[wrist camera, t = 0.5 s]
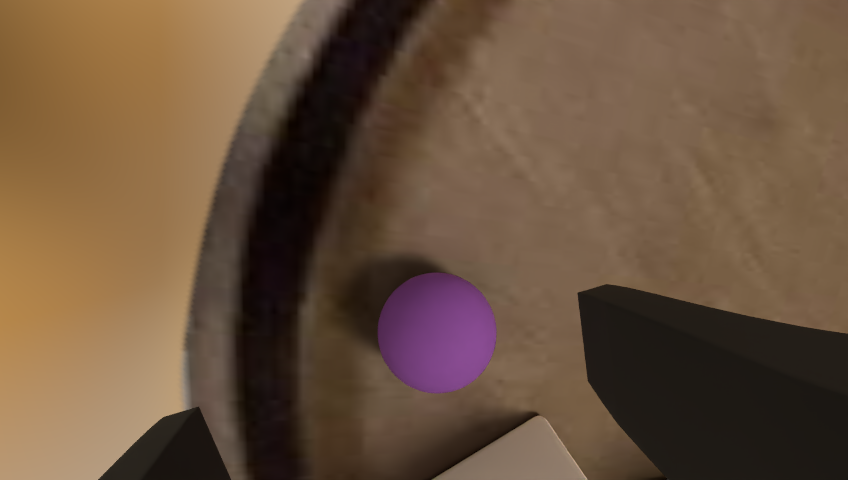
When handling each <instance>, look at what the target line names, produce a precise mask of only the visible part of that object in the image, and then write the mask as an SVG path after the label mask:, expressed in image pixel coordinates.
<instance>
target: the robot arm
mask: <svg viewBox="0 0 848 480" xmlns="http://www.w3.org/2000/svg"><path fill="white" fill-rule="evenodd" d="M578 300H579V309H580V318H581V326H582V335H583V343H584V352H585V360H586V369H587V377H588V382H589V383H590V385H591V386H592V388H593V389H594V391H595V392H596V394H597V395H598V397H599V398H600V400H601V401H602V403H603V404H604V405H605V407H606V408H607V410H608V411H609V412H610V414H611V415H612V417H613V418H614V419H615V421H616V422H617V423H618V425H619V426H620V427H621V428H622V429H623V430H624V431H625V433H626V434H627V435H628V436H629V437H630V438H631V439H632V440H633V442H634V443H635V444H636V445H637V446H638V447H639V448H640V449H641V450H642V451H643V453H644V454H645V455H646V456H647V457H648V458H649V459H650V460H651V461H652V462H653V464H654V465H655V466H656V467H657V468H658V469H659V470H660V471H661V472H662V473H663V474H664V476H665V477H666V478H667V479H668V480H848V334H846V333H839V332H832V331H825V330H819V329H813V328H807V327H801V326H796V325H790V324H785V323H780V322H775V321H770V320H765V319H760V318H755V317H750V316H746V315H741V314H737V313H732V312H728V311H723V310H719V309H715V308H710V307H706V306H702V305H698V304H694V303H690V302H686V301H682V300H677V299H673V298H669V297H665V296H661V295H657V294H653V293H649V292H645V291H640V290H636V289H632V288H627V287H622V286H616V285H609V284H606V285H602V286H599V287H596V288H592V289H589V290H586V291H582V292H579V293H578ZM98 480H231V478H230V476H229V474H228V472H227V469H226V467H225V465H224V463H223V460H222V458H221V456H220V454H219V451H218V449H217V447H216V444H215V442H214V440H213V438H212V435H211V433H210V431H209V429H208V426H207V424H206V422H205V420H204V417H203V415H202V413H201V410H200V408H199V407H196V408H192V409H189V410H186V411H182V412H179V413H176V414H172V415H169V416H166V417H163V418H162V419H160V420H159V421H158V422H157V423H156V424H155V425H154V426H152V427H151V428H150V429H149V430H148V431H147V432H146V433H145V434H144V435H143V436H142V437H140V438H139V439H138V440H137V442H135V443H134V444H133V445H132V446H131V447H130V448H129V449H128V450H127V451H126V453H124V455H122V457H120V458H119V459H118V460H117V461H116V462H115V463H114V464H113V465H112V466H111V467H110V468H109V469H108V470H107V471H106V472H105V473H104V474H103V476H101V477H100V479H98Z"/></svg>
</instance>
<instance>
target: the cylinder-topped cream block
mask: <svg viewBox="0 0 848 480" xmlns="http://www.w3.org/2000/svg"><path fill="white" fill-rule="evenodd" d="M432 480H587V478H586V477H585V475H584V474H583V472H582V471H581V469H580V468H579V466H578V465H577V463H576V462H575V460H574V459H573V458H572V456H571V455H570V453H569V452H568V450H567V449H566V447H565V446H564V444H563V443H562V441H561V440H560V439H559V437H558V436H557V434H556V433H555V431H554V430H553V428H552V427H551V425H550V424H549V422H548V421H547V420H546V419H545V418H544V417H542V416H536V417H533V418H532V419H530V420H529V421H527V422H525V423H524V424H522V425H520V426H519V427H517V428H515V429H514V430H512V431H511V432H509V433H507V434H506V435H504V436H502V437H501V438H499V439H497V440H496V441H494V442H492V443H491V444H489V445H488V446H486V447H484V448H483V449H481V450H479V451H478V452H476V453H474V454H473V455H471V456H470V457H468V458H466V459H465V460H463V461H461V462H460V463H458V464H456V465H455V466H453V467H452V468H450V469H448V470H447V471H445V472H443V473H442V474H440V475H438V476H437V477H435V478H434V479H432Z"/></svg>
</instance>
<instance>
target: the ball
mask: <svg viewBox="0 0 848 480" xmlns="http://www.w3.org/2000/svg"><path fill="white" fill-rule="evenodd" d="M378 342H379V347H380V351H381V354H382V357H383V359H384V361H385V363H386V364H387V366H388V367H389V369H390V370H391V371H392V373H393V374H394V375H395V376H396V377H397V378H399V379H400V380H401V381H402V382H404V383H405V384H407V385H408V386H410V387H412V388H414V389H417V390H420V391H423V392H428V393H446V392H451V391H455V390H458V389H460V388H462V387H465V386H466V385H468V384H470V383H471V382H472V381H474V380H475V379H476V378H477V377H478V376H479V375H480V374H481V373H482V372H483V371H484V369H485V368H486V366H487V365H488V363H489V361H490V359H491V357H492V354H493V351H494V348H495V343H496V323H495V319H494V315H493V312H492V309H491V307H490V305H489V303H488V302H487V300H486V298H485V297H484V296H483V294H482V293H481V292H480V291H479V290H478V289H477V288H476V287H475V286H474V285H472V284H471V283H469V282H468V281H466V280H464V279H462V278H460V277H458V276H455V275H452V274H447V273H427V274H422V275H419V276H416V277H413V278H411V279H409V280H407V281H406V282H404V283H403V284H401V285H400V286H399V287H398V288H397V289H396V290H395V291H394V292H393V293H392V294H391V295H390V297H389V298H388V299H387V301H386V303H385V305H384V307H383V309H382V311H381V315H380V318H379V323H378Z"/></svg>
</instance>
